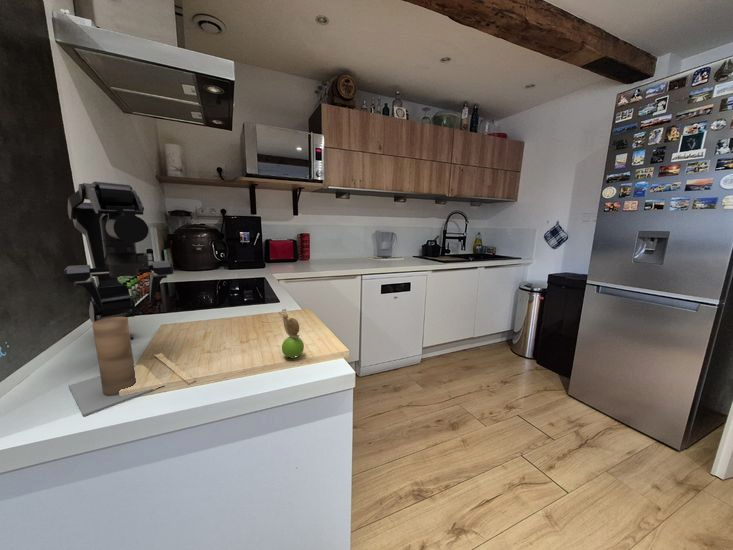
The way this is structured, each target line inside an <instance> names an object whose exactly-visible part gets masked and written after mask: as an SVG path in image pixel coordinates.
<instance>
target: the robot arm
mask: <svg viewBox="0 0 733 550" xmlns="http://www.w3.org/2000/svg"><path fill="white" fill-rule="evenodd" d="M85 200H89V202H85ZM144 210H145V206H144V205H143V203H142V201H141V199H140V196H139V195H138V193H137V191H136V190H134V189H133V187H132V185H130V184H122V183H116V182H115V183H113V182H104V181H92V182H91V183H86V182H83V183H78V189H77V191H75V192H74V193H72V194H71V195H70V196H68V198H67V214H68V218H69V220H72V221H73V226H74V228H75V229H76V230H77V231H78V232H80V233H81V234H82V235H84V237H85V241H86V245H87V249H88V254H89V257H90V262H91V265H92V267H91V265H90V264H86V265H85V264H82V265H79V264H78V265H68V266H67V267H66V268H65V269H64V270H63V271H62V272H63V274H62V275H63V279H64V283H73V284H74V286H81V287H83V289H84V290H85V291H86V292H87V293H88V294H89V295H90V297H91V301H89V302H90V303H89V309H88V313H89V314H88V315H89V319H90V322H91V323H93V322H95V321H98V320H101V319H105V318H111V317H127V318H132V317H133V318H134V317H135V315H136V310H135V309H136V299H134V297H133V296H132V295H130V291H129V287H128V286H127V284H123V283H121V282H120V281H119V278H120V277H137V276H138V275H140V274H145V273H149V301H150V304H154V300H155V297H156V294H157V290H158V287H159V285H160V283H161V281H162V280H163V279H167V278H168V275H173V274H174V266H173V264H172V263H171V262H170V261H167V260H159V261H158V260H156V261H150V264H149V255H148V253H147V252H138V251H137V243H140V242H142V241H144V240H145V239H146V238H147V237H148V234H149V226H148V225H147V222H146V220H143V218H141V217H139V216H144ZM130 339H131V340H133V339H134V336H133V335H132V334H131V333H130Z"/></svg>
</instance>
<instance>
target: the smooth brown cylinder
mask: <svg viewBox="0 0 733 550" xmlns="http://www.w3.org/2000/svg"><path fill="white" fill-rule="evenodd" d="M91 323H92V329H93V338H94V342H95V343H94V344H95V349H96V356H97V357H96V358H97V362H98V363H97V364H98V369H99V370H98V371H99V376H100V377H101V383H102V390H103V394H104V395H106V396H114V395H119V391H120V390H121V389H125V388H128V387H131V386H133V385H134V384H135V383H136V378H135V370H134V365H135V364H134V362H135V361H134V358H133V357H134V356H133V348H132V339H130V334H131V332H130V325H129V317H111V318H105V319H101V320H98V321H95V322H91Z"/></svg>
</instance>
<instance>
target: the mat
mask: <svg viewBox="0 0 733 550" xmlns="http://www.w3.org/2000/svg"><path fill="white" fill-rule="evenodd" d="M135 365H136V364H134V367H135ZM68 389H69V391H70V392H71V395H72V397H73V399H74V401H75V402H76V404H77V406H78V409H79V411H80V412H81V415H82V417H83V418H84V417H88V416H91V415H93V414H95V413H98V412H101V411H103V410H106V409H108V408H111V407H114V406H116V405H118V404H122V403H125V402H127V401H129V400H133V399H135V398H138V397H140V396H144V395H145V394H148V393H151V392H154V391H155V390H153V389H150V390H144V391H140V392H135V393H132V394H128V395H124V396H120V395H114V396H106V395H104V394H103V390H102V383H101V377H100V375H98V376H94V377H91V378H88V379H85V380H81V381H78V382H75V383H72V384H69V385H68Z"/></svg>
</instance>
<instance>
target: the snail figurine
mask: <svg viewBox="0 0 733 550" xmlns="http://www.w3.org/2000/svg"><path fill="white" fill-rule="evenodd" d="M281 311H282V312H283V313H282V318H283V326H284V331H285V332H286V334H287V335H288V337H286V338H285V339H284V340H283V342H282V344H281V351H282V353H283V355H284V356H285V357H286V356H288V357H295V356H298V357H299V356H300V354H301V355H302V353H303V352H304V349H305V346H304V345H305V344H304V341H303V340H302V338H300V335H299V333H300V323H299V322H298V320H297V319H296V318H294V317H290V318H289V314H287V312H286V311H287V308H284V309H283V308H282V310H281ZM288 357H287V358H288Z"/></svg>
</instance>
